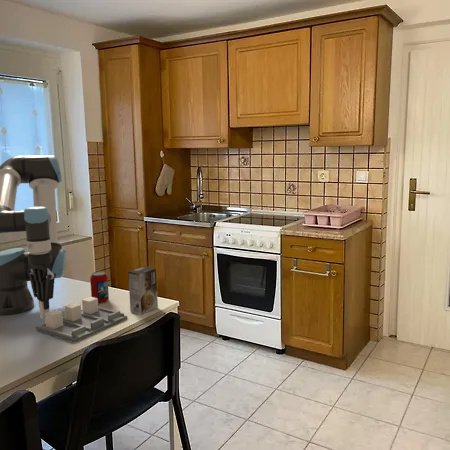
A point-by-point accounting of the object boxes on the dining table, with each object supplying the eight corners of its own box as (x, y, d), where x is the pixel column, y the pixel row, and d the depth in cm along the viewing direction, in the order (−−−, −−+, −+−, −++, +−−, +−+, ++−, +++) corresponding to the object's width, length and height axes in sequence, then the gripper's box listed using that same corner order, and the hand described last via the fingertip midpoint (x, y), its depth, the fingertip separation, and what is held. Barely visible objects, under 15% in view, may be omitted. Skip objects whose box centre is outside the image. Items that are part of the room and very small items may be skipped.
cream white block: (82, 312, 169) (82, 299, 169) (91, 309, 173) (90, 296, 172) (90, 314, 167) (89, 301, 166) (98, 311, 171) (97, 298, 170)
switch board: (35, 330, 156) (35, 321, 156) (90, 308, 176) (89, 301, 176) (74, 342, 146) (73, 334, 145) (127, 318, 166) (127, 310, 165)
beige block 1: (46, 326, 156) (44, 313, 155) (55, 323, 159) (54, 309, 159) (53, 329, 154) (52, 315, 153) (63, 325, 157) (62, 311, 156)
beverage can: (104, 304, 180) (102, 275, 178) (88, 303, 182) (86, 275, 180) (111, 299, 187) (110, 271, 185) (96, 298, 188) (94, 270, 186)
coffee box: (146, 304, 180) (144, 265, 177) (158, 307, 176) (156, 268, 173) (129, 311, 173) (127, 271, 170) (141, 315, 169) (139, 273, 166)
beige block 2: (65, 319, 163) (64, 306, 162) (74, 315, 166) (73, 302, 165) (72, 321, 161) (71, 308, 160) (81, 317, 164) (80, 304, 163)
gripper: (18, 252, 155) (24, 317, 159) (41, 256, 148) (47, 324, 152) (37, 248, 161) (43, 311, 165) (61, 251, 154) (66, 317, 158)
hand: (45, 317), depth 158 cm, fingers closed
